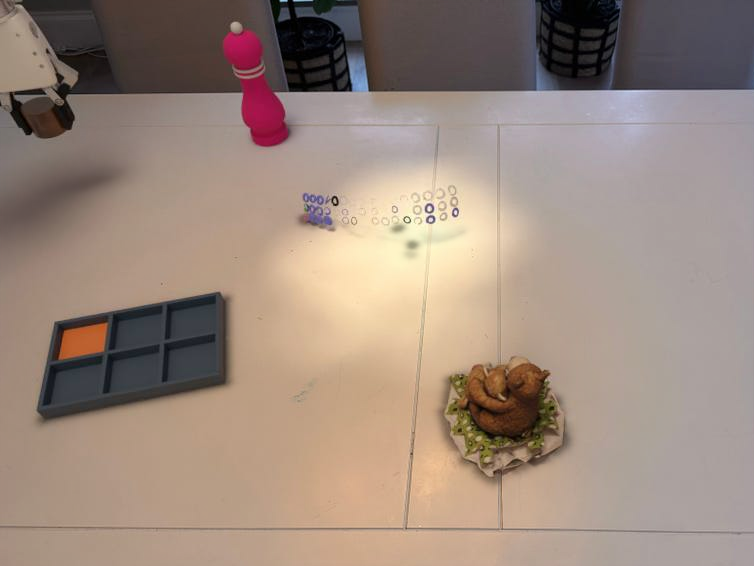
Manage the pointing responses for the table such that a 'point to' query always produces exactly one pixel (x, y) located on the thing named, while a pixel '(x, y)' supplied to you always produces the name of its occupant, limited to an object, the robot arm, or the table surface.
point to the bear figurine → (504, 414)
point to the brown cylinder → (42, 117)
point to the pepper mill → (255, 87)
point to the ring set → (328, 220)
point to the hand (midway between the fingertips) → (50, 126)
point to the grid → (134, 355)
